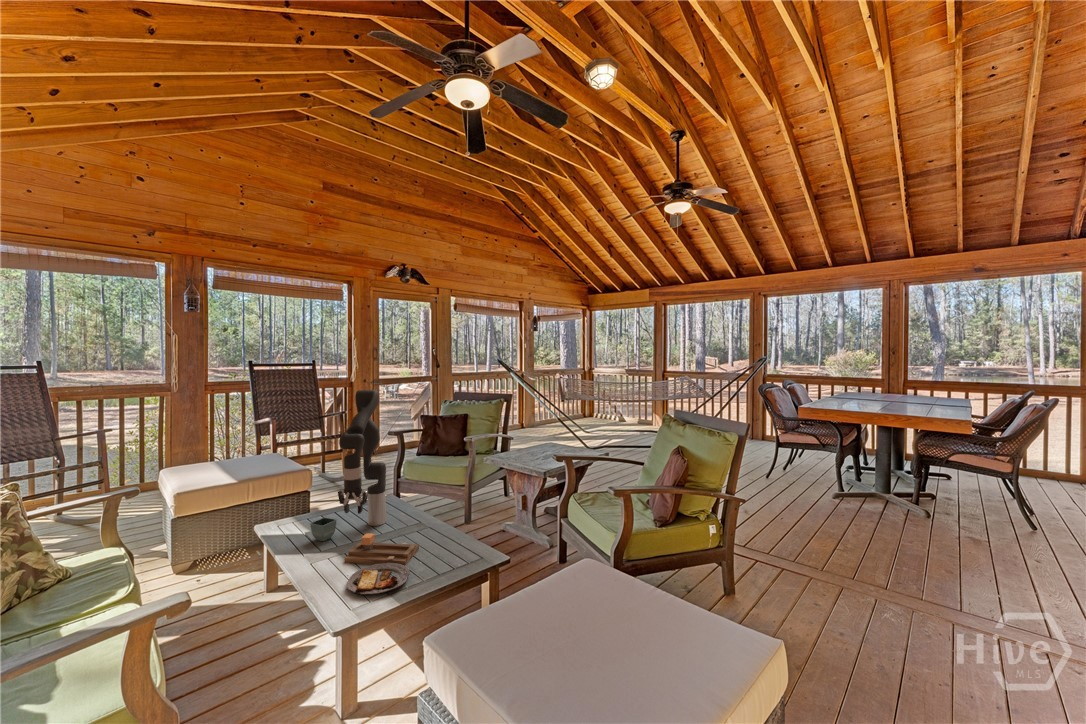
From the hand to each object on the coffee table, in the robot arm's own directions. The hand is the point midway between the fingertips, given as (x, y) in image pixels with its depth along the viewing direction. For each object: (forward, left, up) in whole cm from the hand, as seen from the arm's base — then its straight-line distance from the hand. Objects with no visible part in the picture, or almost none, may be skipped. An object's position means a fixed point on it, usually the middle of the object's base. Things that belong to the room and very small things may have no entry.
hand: (353, 512), depth 205 cm
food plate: (+22, +23, -20) cm, 38 cm away
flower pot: (-14, -24, -20) cm, 34 cm away
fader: (0, +7, -17) cm, 19 cm away
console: (0, +14, -19) cm, 24 cm away
